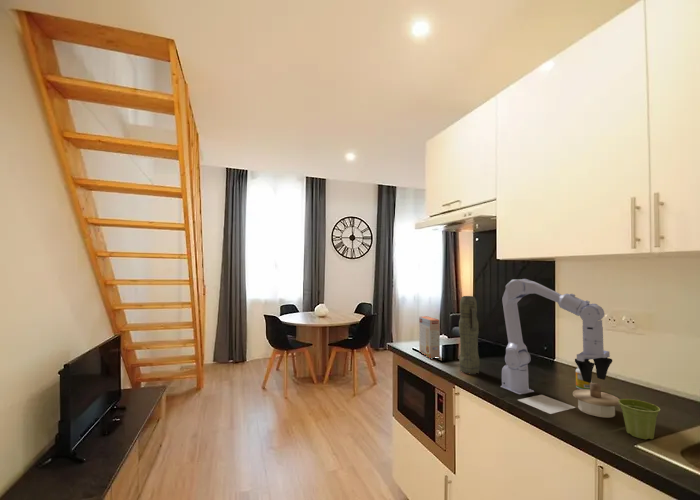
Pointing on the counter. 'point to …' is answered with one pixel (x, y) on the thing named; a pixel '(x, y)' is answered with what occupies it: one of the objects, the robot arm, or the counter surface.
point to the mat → (546, 404)
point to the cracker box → (429, 337)
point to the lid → (596, 396)
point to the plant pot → (639, 417)
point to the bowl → (596, 409)
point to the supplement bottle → (581, 381)
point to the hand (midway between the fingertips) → (594, 380)
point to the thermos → (468, 335)
